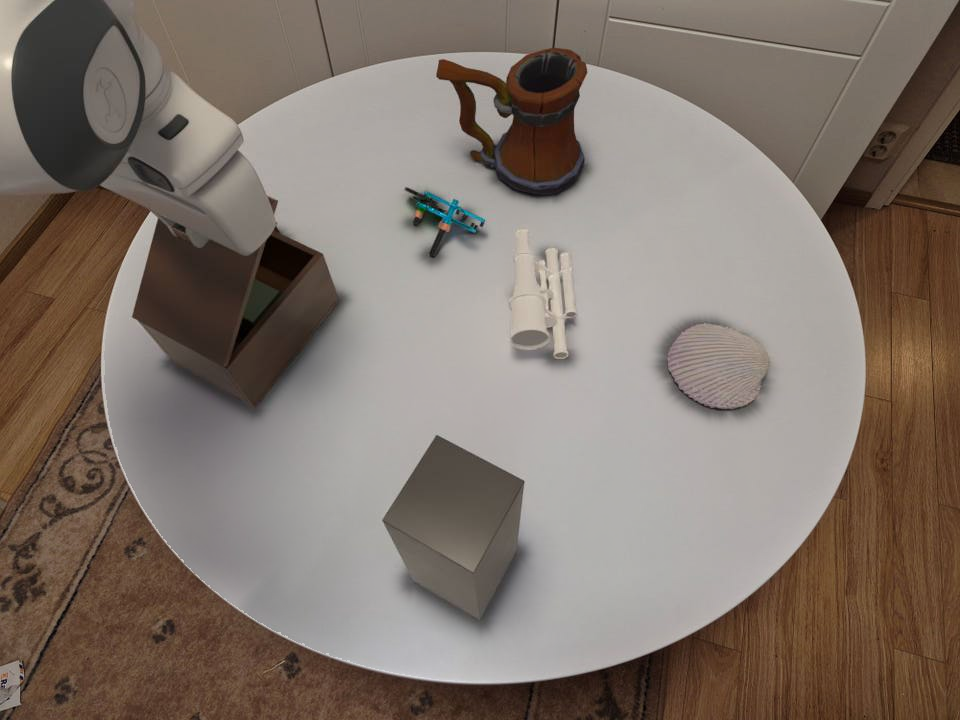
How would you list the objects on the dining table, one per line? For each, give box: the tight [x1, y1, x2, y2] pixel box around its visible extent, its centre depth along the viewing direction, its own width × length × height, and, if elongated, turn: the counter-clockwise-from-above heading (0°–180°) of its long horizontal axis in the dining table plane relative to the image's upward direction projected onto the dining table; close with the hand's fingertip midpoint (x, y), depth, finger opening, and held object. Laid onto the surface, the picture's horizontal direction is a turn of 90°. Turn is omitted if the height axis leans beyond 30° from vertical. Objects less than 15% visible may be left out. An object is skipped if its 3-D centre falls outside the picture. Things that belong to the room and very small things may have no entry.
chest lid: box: [131, 195, 279, 367], centre depth 61 cm, size 16×11×4 cm
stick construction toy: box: [403, 186, 487, 257], centre depth 81 cm, size 12×7×8 cm
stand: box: [381, 434, 526, 621], centre depth 54 cm, size 7×7×20 cm
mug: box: [435, 47, 588, 195], centre depth 81 cm, size 18×12×15 cm, turn 83°
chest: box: [136, 230, 341, 409], centre depth 72 cm, size 15×11×9 cm
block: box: [239, 279, 281, 335], centre depth 74 cm, size 4×4×4 cm
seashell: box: [666, 322, 772, 410], centre depth 71 cm, size 10×6×10 cm
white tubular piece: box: [508, 228, 578, 360], centre depth 74 cm, size 8×14×5 cm
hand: (193, 237), depth 60 cm, fingers closed, pressing on chest lid
